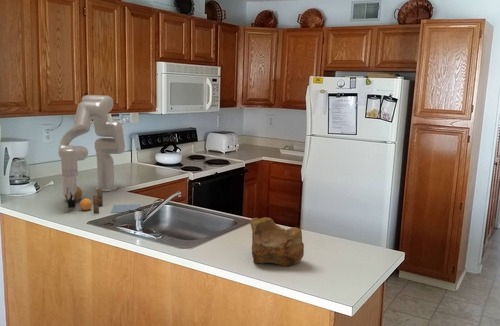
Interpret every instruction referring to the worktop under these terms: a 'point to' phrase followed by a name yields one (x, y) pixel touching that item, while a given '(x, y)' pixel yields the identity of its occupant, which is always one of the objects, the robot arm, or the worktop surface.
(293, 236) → the rough brown rock
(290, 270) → the worktop surface
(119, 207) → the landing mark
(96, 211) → the outer post
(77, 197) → the potato
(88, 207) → the ball
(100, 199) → the inner post
